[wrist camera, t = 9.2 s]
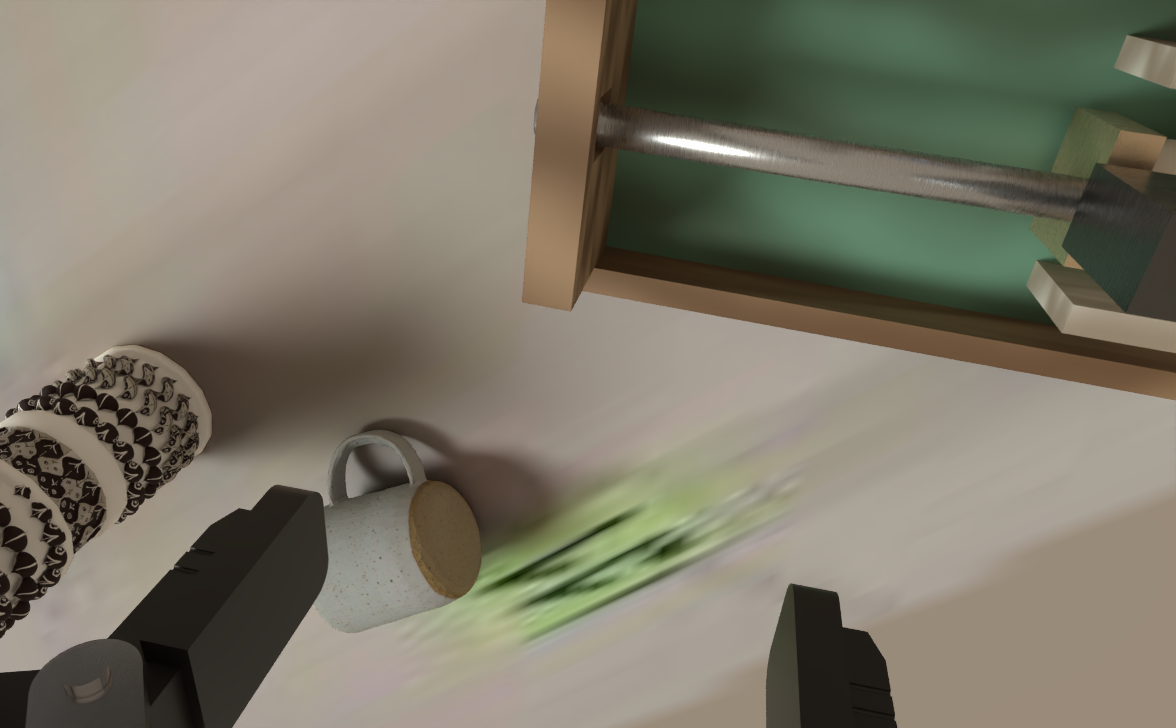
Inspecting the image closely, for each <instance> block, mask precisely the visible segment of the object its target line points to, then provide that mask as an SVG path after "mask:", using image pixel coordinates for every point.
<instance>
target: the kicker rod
mask: <svg viewBox="0 0 1176 728" xmlns="http://www.w3.org/2000/svg"><path fill="white" fill-rule="evenodd" d="M538 98H539V97H538ZM537 110H538V100H537V103H536V108H535V114H534V133H535V135H536V123H537ZM1166 139H1167V137H1166V136H1164V135H1162V134H1160V133H1158V132H1156V131H1154V130H1151V129H1149V128H1147V127H1145V126H1143V125H1141V124H1139V123H1137V122H1135V121H1133V120H1131V119H1129V118H1127V117H1125V116H1123V115H1121V114H1119V113H1117V112H1110V111H1103V110H1096V109H1089V108H1083V107H1076V109H1075V111H1074V114H1073V116H1072V119H1071V122H1070V124H1069V127H1068V129H1067V132H1066V134H1065V137H1064V140H1063V142H1062V145H1061V147H1060V150H1059V152H1058V155H1057V158H1056V160H1055V163H1054V165H1053V168H1052V170H1051V172H1047V171H1040V170H1034V169H1027V168H1021V167H1015V166H1008V165H1002V164H995V163H989V162H983V161H976V160H970V159H963V158H957V157H950V156H944V155H938V154H931V153H925V152H918V151H912V150H905V149H899V148H893V147H886V146H880V145H873V144H867V143H860V142H854V141H848V140H841V139H835V138H828V137H822V136H816V135H809V134H803V133H796V132H790V131H783V130H777V129H771V128H764V127H758V126H751V125H745V124H738V123H732V122H726V121H719V120H713V119H706V118H700V117H693V116H687V115H681V114H674V113H668V112H661V111H655V110H649V109H642V108H636V107H629V106H623V105H616V104H610V103H604V102H600V108H599V117H598V125H597V134H596V143H595V146H601V147H607V148H613V149H619V150H626V151H632V152H638V153H644V154H650V155H656V156H662V157H669V158H675V159H681V160H687V161H693V162H699V163H706V164H712V165H718V166H724V167H730V168H736V169H743V170H749V171H755V172H761V173H767V174H773V175H780V176H786V177H792V178H798V179H804V180H810V181H817V182H823V183H829V184H835V185H841V186H847V187H854V188H860V189H866V190H872V191H878V192H884V193H890V194H897V195H903V196H909V197H915V198H921V199H927V200H934V201H940V202H946V203H952V204H958V205H964V206H971V207H977V208H983V209H989V210H995V211H1001V212H1008V213H1014V214H1020V215H1026V216H1032V217H1033V219H1032V222H1031V224H1030V227H1029V229H1030V230H1031V231H1032V232H1033V233H1034V234H1035V236H1036V237H1037V238H1038V239H1039V240H1040V241H1041V242H1042V243H1043V244H1044V245H1045V247H1046V248H1047V249H1048V250H1049V251H1050V252H1051V253H1052V254H1053V255H1054V256H1055V258H1056V259H1057V260H1058V261H1059V262H1060V263H1061V264H1062V265H1063V266H1065V267H1070V268H1076V269H1082V270H1085V271H1086V272H1087V273H1088V275H1089V276H1090V277H1091V278H1092V279H1093V280H1094V281H1095V282H1096V283H1097V284H1098V285H1099V286H1100V287H1101V288H1102V289H1103V290H1104V291H1105V292H1106V293H1107V294H1108V295H1109V296H1110V297H1111V298H1112V299H1113V300H1114V302H1115V303H1116V304H1117V305H1118V306H1119V307H1120V308H1121V309H1122V310H1123V311H1124V312H1125V313H1127V314H1133V315H1139V316H1145V317H1150V318H1156V319H1162V320H1168V321H1173V322H1176V175H1173V174H1167V173H1160V172H1154V171H1152V170H1153V168H1154V165H1155V163H1156V161H1157V159H1158V156H1159V154H1160V152H1161V150H1162V148H1163V145H1164V143H1165V141H1166Z"/></svg>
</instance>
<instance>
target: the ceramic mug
mask: <svg viewBox="0 0 1176 728" xmlns="http://www.w3.org/2000/svg"><path fill="white" fill-rule="evenodd" d="M371 443H376V444H378V445H381V446H383V445H387V446H391V447H392V448H393V449H394V450H395V451H396V453H397V454H398V455H399V456H400V458H401V460H402V462H403V464H404V466H405V468H406V470H407V474H408V477H409V479H410V483H407V484H403V485H400V486H397V487H392V488H388V489H386V490H383V491H379V492H374V493H370V494H365V495H361V496H357V497H354V498H348V496H347V493H346V482H345V471H346V464H347V460H348V457H349V455H350V453H351V451H352V450H353V449H354V448H356V447H357V446H361V445H365V444H371ZM328 495H329V502H330V504H329V505H327V506H325V507H324V516H325V526H326V536H327V547H328V558H329V562H328V571H327V575H326V579H325V582H324V585H323V587H322V590H321V592H320V594H319V595H318V597H317V598H316V600H315V602H314V603H313V605H314V607H315V609H316V611H317V612H318V614H319V615H320V616H321V617H322V618H323V619H324V621H325V622H326V623H328V624H329V625H331V626H332V627H333V628H335V629H337V630H339V631H342V632H346V633H357V632H361V631H364V630H367V629H370V628H373V627H377V626H380V625H383V624H387V623H390V622H393V621H397V620H400V619H403V618H406V617H409V616H412V615H415V614H418V613H422V612H425V611H429V610H432V609H436V608H439V607H442V606H444V605H447V604H449V603H451V602H452V601H454V600H456V599H458V598H460V597H462V596H463V595H465V594H466V593H467V592H468V591H469V590H470V589H471V588H472V586H473V585H474V583H475V581H476V579H477V577H478V574H479V570H480V566H481V555H482V550H481V539H480V534H479V529H478V525H477V522H476V520H475V518H474V515H473V513H472V510H471V509H470V507H469V505H468V504H467V502H466V501H465V500H464V498H463V497H462V496H461V494H460V493H459V492H457V491H456V490H455V489H454V488H453V487H451V486H450V485H448V484H446V483H444V482H440V481H429V480H427V479H426V476H425V474H424V469H423V465H422V462H421V460H420V458H419V457H418V455H417V453H416V451H415V450H414V448H413V447H412V445H411V444H410V443H409V442H408V441H407V440H406V439H405V438H403V437H402V436H400V435H398V434H396V433H394V432H391V431H387V430H372V431H368V432H364V433H360V434H356V435H353V436H351V437H349V438H347V439H346V440H344V441H343V442H342V443H341V444H340V445H339V446H338V447H337V449H336V451H335V452H334V455H333V457H332V459H331V462H330V466H329V471H328Z"/></svg>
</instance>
